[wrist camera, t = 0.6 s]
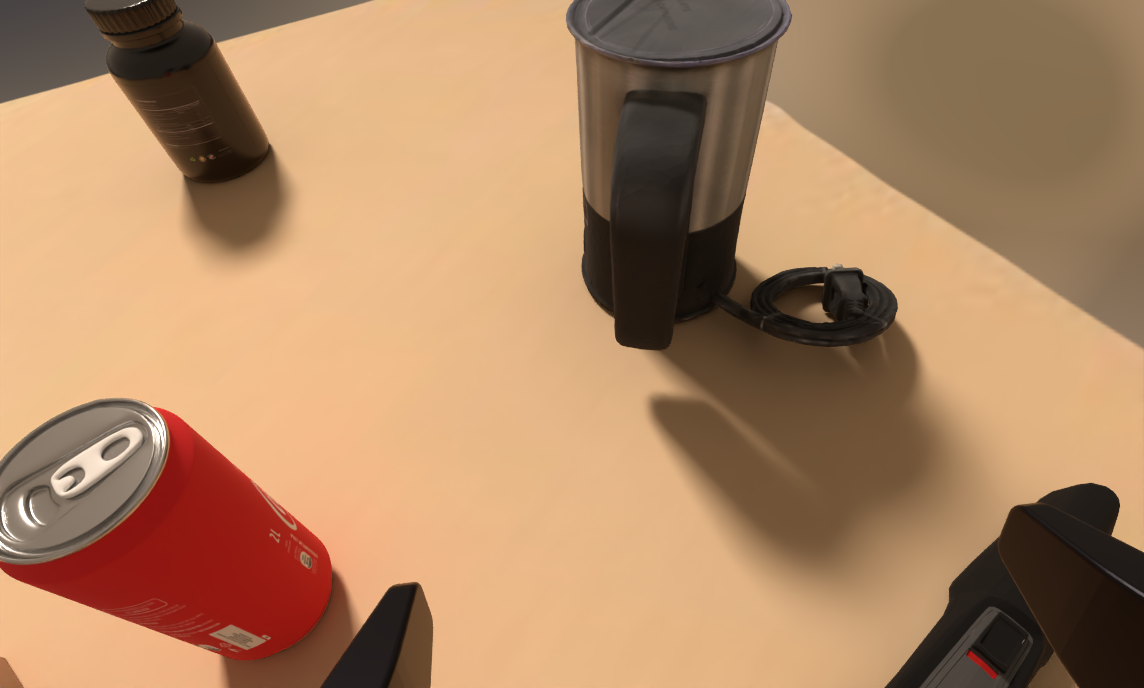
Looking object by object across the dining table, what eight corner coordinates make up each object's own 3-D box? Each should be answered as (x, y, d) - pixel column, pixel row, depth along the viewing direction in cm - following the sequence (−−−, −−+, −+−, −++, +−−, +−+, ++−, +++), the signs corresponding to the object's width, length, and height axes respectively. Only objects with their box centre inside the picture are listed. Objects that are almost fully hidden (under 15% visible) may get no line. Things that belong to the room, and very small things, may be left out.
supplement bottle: (191, 141, 48) (86, -22, 38) (276, 128, 48) (193, -36, 39) (171, 192, 43) (48, 24, 34) (265, 177, 44) (168, 6, 34)
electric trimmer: (1114, 552, 24) (1171, 524, 22) (903, 867, 19) (948, 877, 16) (1022, 488, 26) (1065, 454, 24) (805, 756, 21) (832, 749, 18)
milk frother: (573, 226, 38) (553, -25, 27) (809, 196, 39) (892, -64, 27) (605, 410, 30) (596, 156, 18) (911, 370, 30) (1098, 95, 18)
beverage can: (195, 603, 25) (-63, 483, 15) (300, 513, 27) (130, 360, 18) (256, 696, 23) (-5, 622, 13) (365, 590, 25) (210, 461, 15)
